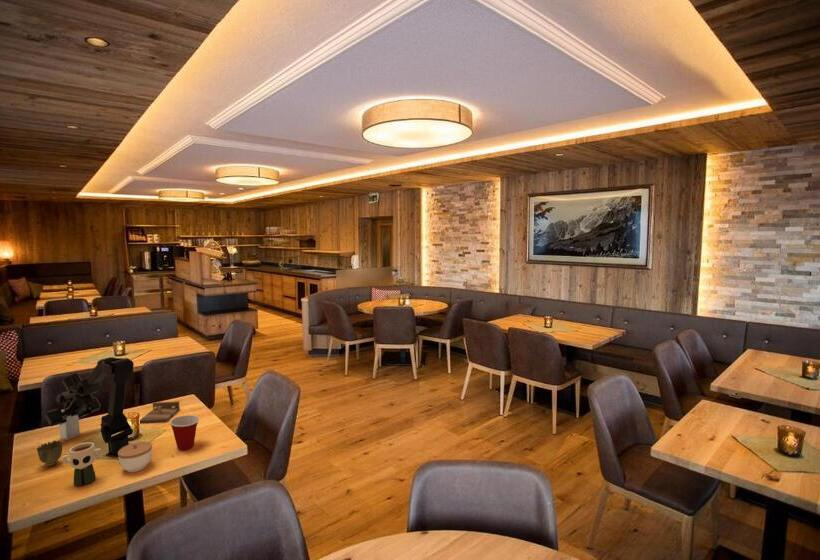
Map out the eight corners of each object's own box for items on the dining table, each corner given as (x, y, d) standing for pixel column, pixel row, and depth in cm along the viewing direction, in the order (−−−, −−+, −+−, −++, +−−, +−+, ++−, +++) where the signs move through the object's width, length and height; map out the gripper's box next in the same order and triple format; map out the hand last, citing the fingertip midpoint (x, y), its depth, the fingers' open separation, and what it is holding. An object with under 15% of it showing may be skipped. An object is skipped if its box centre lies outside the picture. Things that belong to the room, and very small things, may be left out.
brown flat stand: (166, 422, 196) (165, 412, 196) (139, 423, 195) (138, 413, 195) (179, 410, 210) (179, 400, 210) (154, 411, 209) (153, 401, 208)
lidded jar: (129, 461, 162) (127, 438, 161) (158, 459, 163) (156, 436, 163) (112, 477, 152) (110, 452, 151) (144, 475, 153) (142, 450, 152)
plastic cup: (198, 451, 169) (196, 423, 168) (168, 455, 166) (166, 426, 165) (203, 439, 180) (201, 412, 179) (175, 442, 177) (173, 415, 175)
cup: (34, 467, 158) (32, 447, 157) (56, 458, 165) (55, 438, 164) (46, 471, 155) (44, 451, 154) (68, 462, 162) (66, 442, 161)
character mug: (63, 491, 143) (59, 455, 142) (67, 481, 149) (64, 446, 148) (102, 482, 148) (99, 447, 147) (105, 472, 155) (102, 439, 153)
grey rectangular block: (80, 435, 184) (77, 408, 183) (66, 440, 179) (64, 413, 178) (73, 433, 186) (71, 407, 185) (60, 437, 181) (57, 411, 180)
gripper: (94, 379, 187) (82, 399, 193) (44, 393, 170) (32, 415, 176) (106, 399, 185) (93, 418, 190) (57, 415, 168) (44, 436, 173)
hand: (67, 421), depth 183 cm, fingers closed on grey rectangular block, 5 cm apart
